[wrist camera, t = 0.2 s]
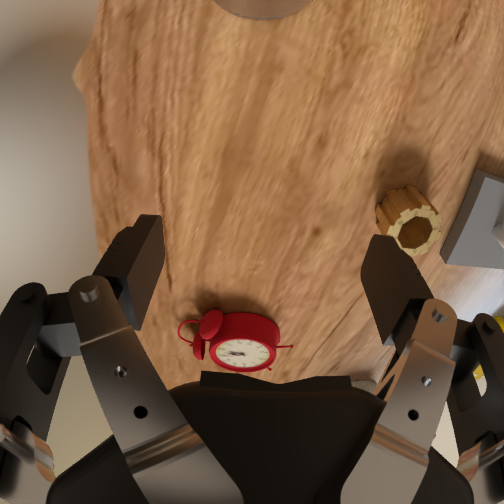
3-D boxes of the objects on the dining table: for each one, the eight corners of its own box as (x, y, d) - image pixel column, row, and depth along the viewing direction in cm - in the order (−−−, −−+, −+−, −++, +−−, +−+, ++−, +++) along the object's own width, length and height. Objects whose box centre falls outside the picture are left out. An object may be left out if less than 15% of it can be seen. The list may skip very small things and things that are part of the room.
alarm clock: (269, 378, 45) (173, 377, 39) (261, 345, 50) (171, 340, 44) (301, 344, 39) (188, 340, 33) (289, 307, 43) (185, 297, 38)
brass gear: (384, 181, 28) (399, 200, 25) (433, 190, 28) (450, 210, 25) (367, 232, 32) (378, 255, 29) (414, 238, 32) (428, 260, 29)
